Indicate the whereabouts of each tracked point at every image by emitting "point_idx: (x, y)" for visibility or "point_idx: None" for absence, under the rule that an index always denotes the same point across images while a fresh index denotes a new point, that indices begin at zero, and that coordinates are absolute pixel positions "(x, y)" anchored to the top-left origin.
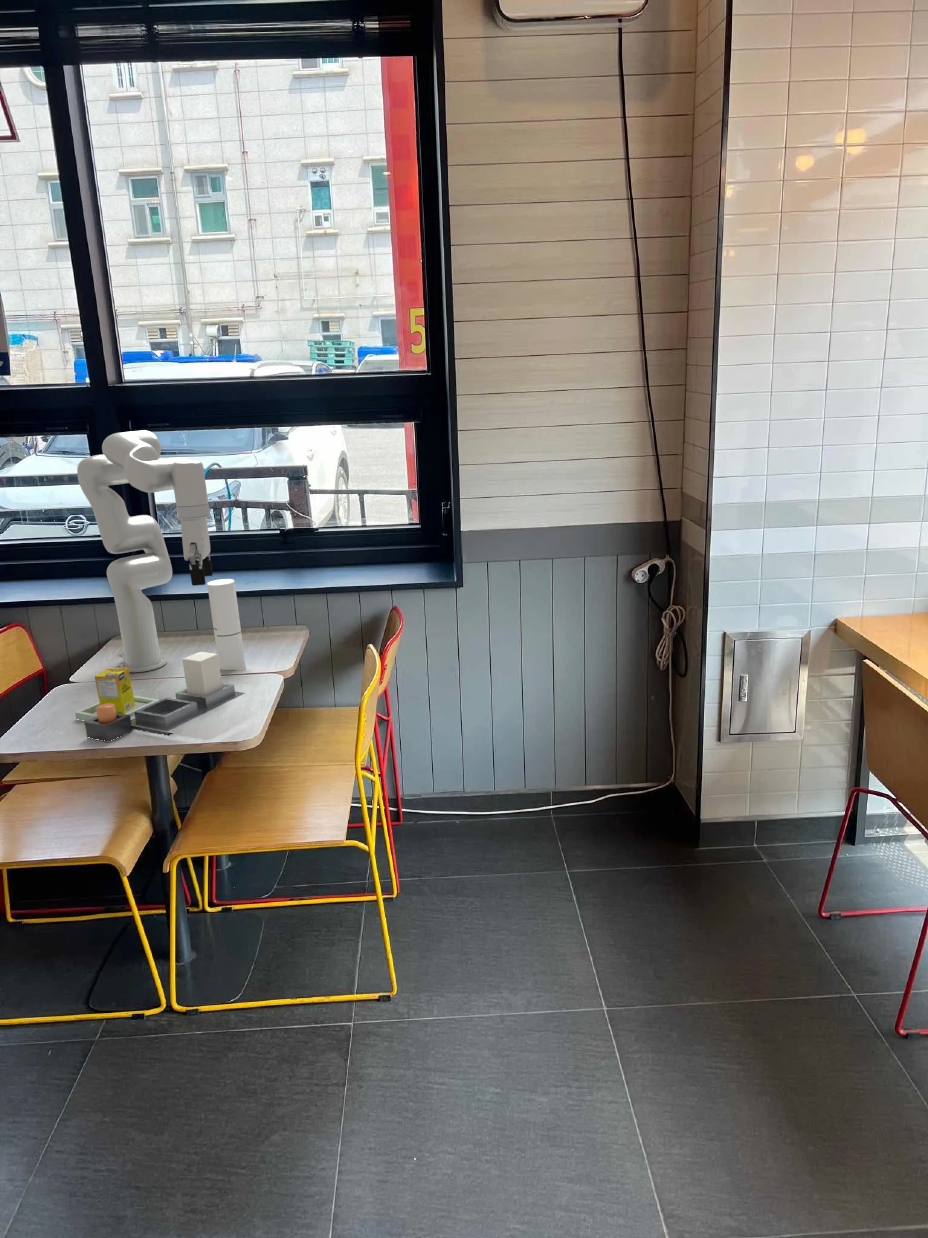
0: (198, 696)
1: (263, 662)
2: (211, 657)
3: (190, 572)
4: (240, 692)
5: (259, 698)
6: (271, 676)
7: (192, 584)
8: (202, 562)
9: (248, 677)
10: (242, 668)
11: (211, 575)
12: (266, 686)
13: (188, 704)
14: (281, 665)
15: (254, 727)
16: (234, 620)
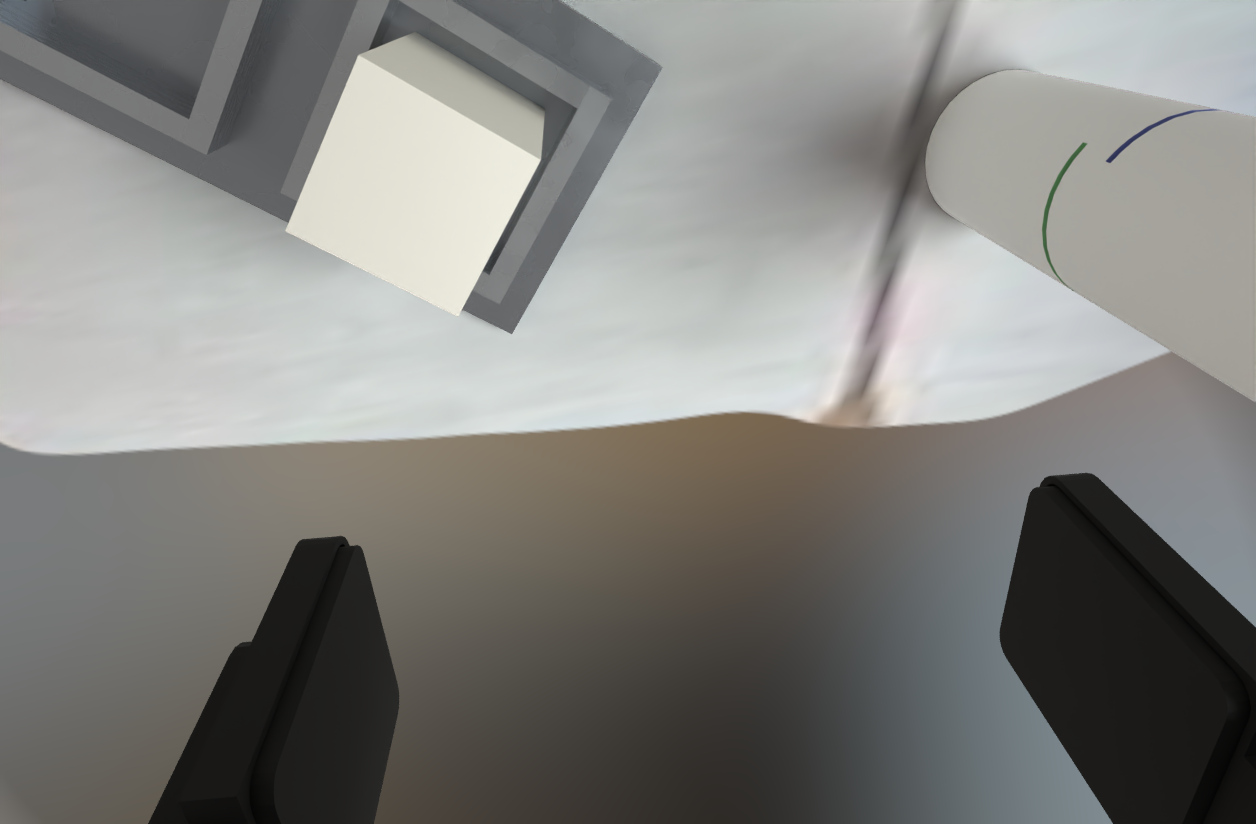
0: (309, 140)
1: (1057, 300)
2: (397, 283)
3: (209, 740)
4: (522, 308)
5: (492, 390)
6: (805, 384)
7: (297, 551)
8: (1183, 755)
9: (828, 271)
10: (958, 220)
11: (1008, 634)
12: (659, 389)
13: (168, 112)
14: (964, 399)
15: (119, 442)
16: (1127, 320)
